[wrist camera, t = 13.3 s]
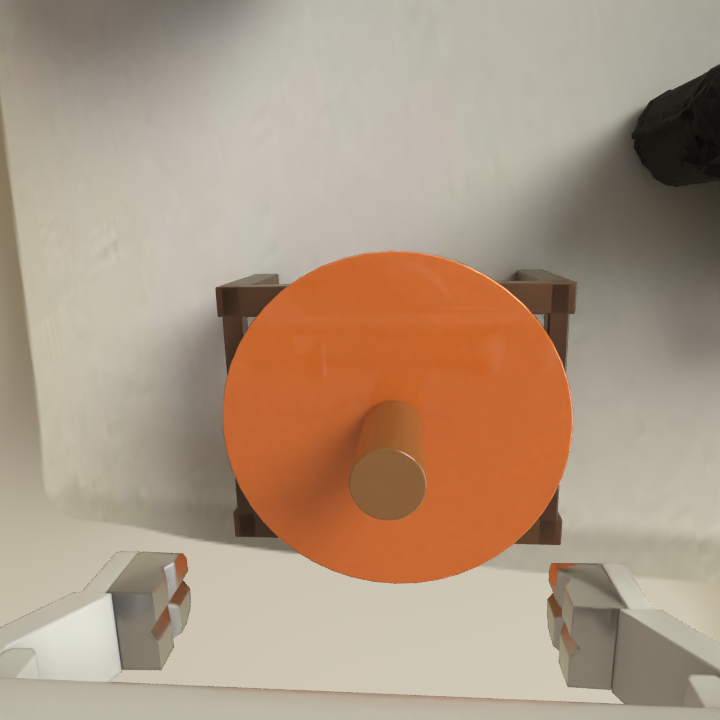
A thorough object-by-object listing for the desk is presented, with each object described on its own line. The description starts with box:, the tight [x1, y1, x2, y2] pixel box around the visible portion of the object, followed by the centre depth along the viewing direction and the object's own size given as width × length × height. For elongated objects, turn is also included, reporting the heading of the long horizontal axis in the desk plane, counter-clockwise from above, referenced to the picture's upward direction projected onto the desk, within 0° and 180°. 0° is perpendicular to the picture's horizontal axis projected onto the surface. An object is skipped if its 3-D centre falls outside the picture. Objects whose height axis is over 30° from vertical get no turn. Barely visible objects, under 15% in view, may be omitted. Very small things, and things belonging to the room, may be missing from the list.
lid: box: [223, 251, 573, 584], centre depth 21 cm, size 14×14×6 cm
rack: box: [216, 270, 577, 545], centre depth 27 cm, size 14×11×6 cm
